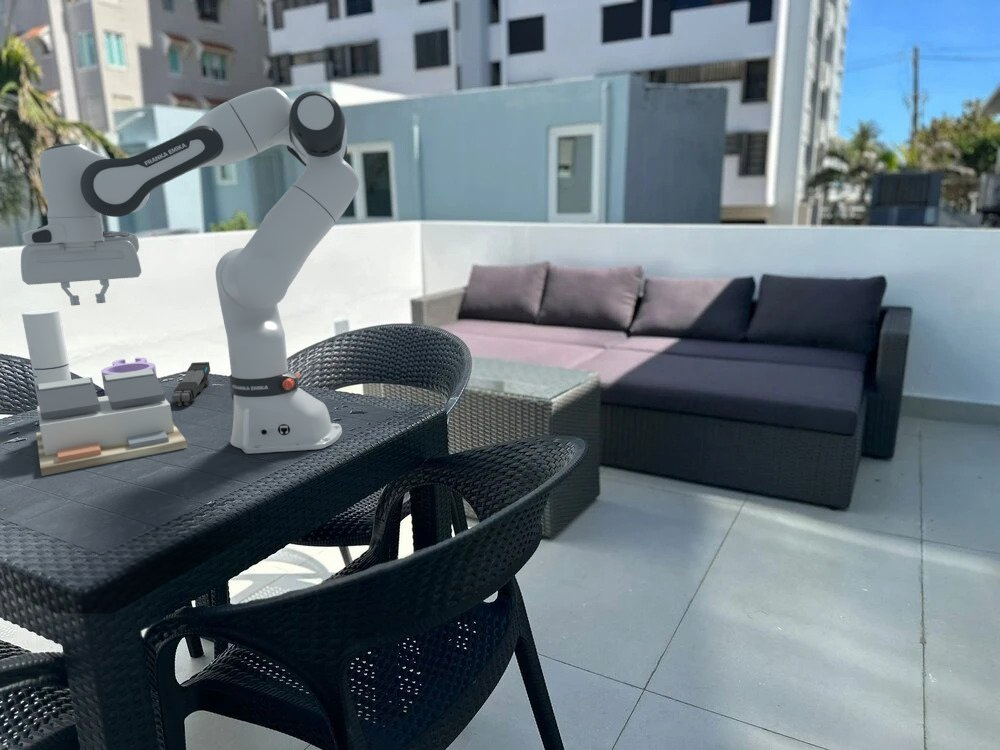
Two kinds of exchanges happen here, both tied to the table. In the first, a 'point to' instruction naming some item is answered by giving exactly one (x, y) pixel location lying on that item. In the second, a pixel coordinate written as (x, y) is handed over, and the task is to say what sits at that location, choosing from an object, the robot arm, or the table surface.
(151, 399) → the right rocker
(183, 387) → the gun
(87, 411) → the left rocker
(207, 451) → the table surface
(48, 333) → the cylindrical container
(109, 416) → the switch unit
